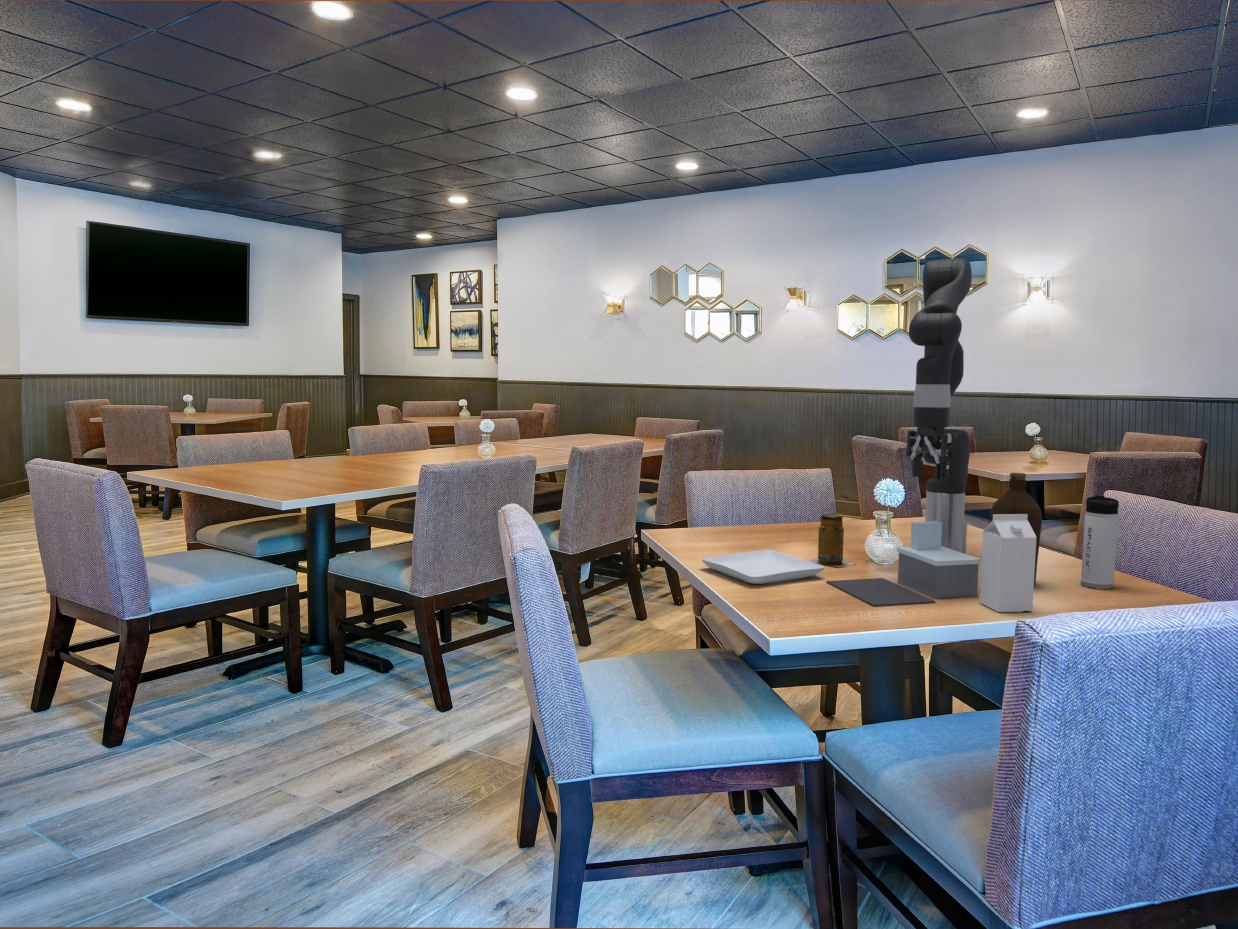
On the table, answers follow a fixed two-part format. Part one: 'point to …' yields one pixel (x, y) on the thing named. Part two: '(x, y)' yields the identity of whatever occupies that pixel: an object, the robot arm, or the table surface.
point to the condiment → (831, 541)
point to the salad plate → (763, 566)
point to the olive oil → (1020, 507)
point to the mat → (880, 592)
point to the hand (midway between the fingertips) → (928, 478)
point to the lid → (933, 546)
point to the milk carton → (1008, 564)
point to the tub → (938, 578)
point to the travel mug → (1099, 542)
